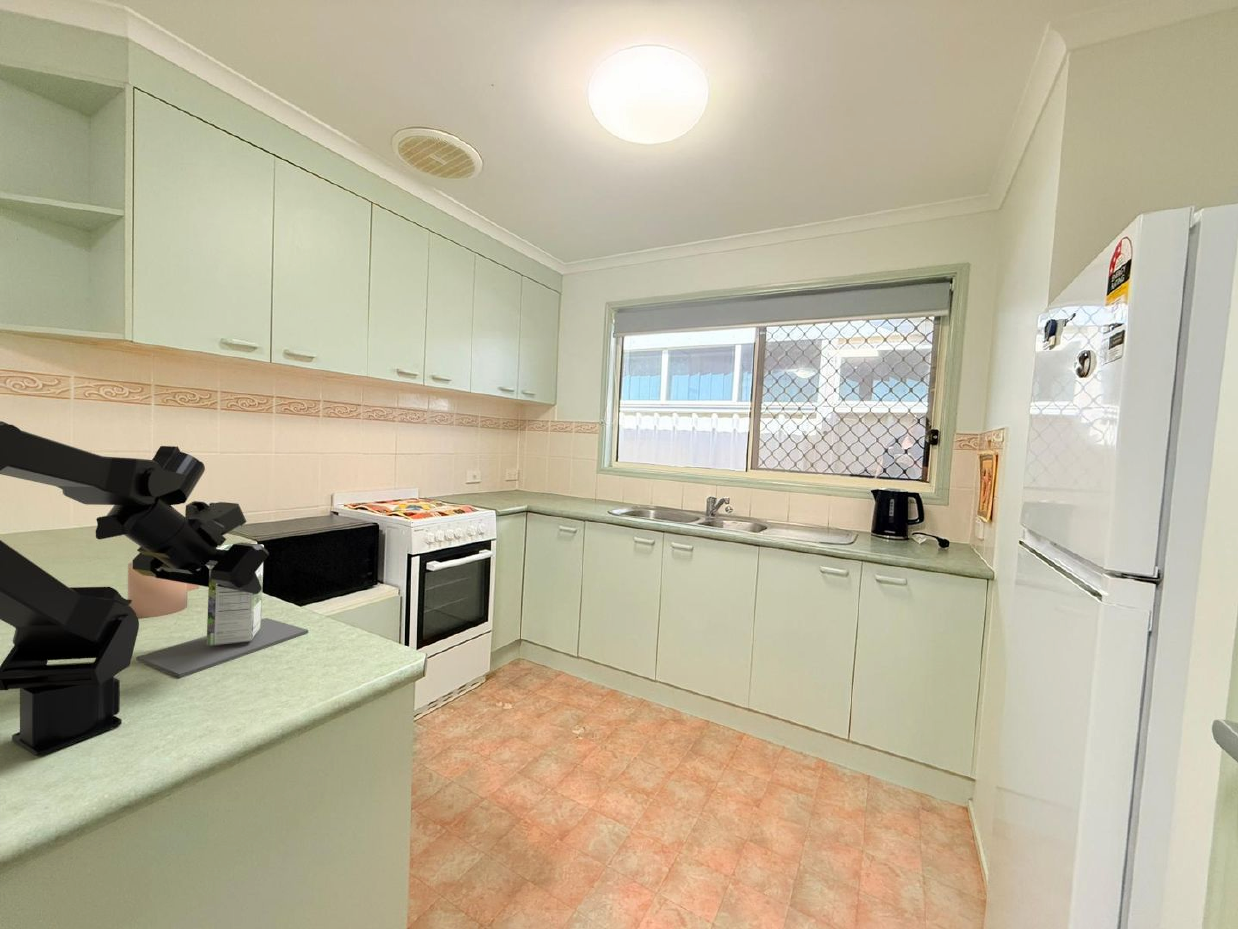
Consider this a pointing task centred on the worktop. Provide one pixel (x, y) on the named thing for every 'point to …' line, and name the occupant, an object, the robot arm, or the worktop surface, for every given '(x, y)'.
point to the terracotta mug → (156, 594)
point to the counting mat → (217, 650)
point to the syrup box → (233, 612)
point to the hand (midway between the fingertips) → (238, 588)
